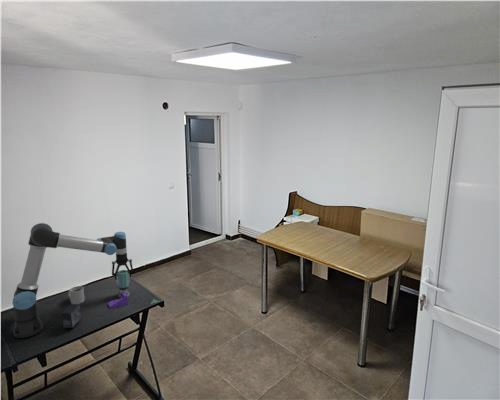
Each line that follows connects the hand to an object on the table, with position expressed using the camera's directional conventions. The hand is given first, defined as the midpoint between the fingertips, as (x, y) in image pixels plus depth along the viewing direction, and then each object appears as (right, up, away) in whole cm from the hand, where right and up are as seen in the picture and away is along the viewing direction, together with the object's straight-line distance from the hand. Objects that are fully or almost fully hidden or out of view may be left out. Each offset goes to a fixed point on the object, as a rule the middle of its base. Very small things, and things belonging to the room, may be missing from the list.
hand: (123, 282), depth 249 cm
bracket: (0, -13, -10) cm, 17 cm away
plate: (0, -10, +2) cm, 11 cm away
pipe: (0, -9, +2) cm, 9 cm away
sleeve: (0, -3, +1) cm, 3 cm away
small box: (-20, -18, -34) cm, 43 cm away
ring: (0, -5, +1) cm, 5 cm away
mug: (-31, -12, -7) cm, 34 cm away
